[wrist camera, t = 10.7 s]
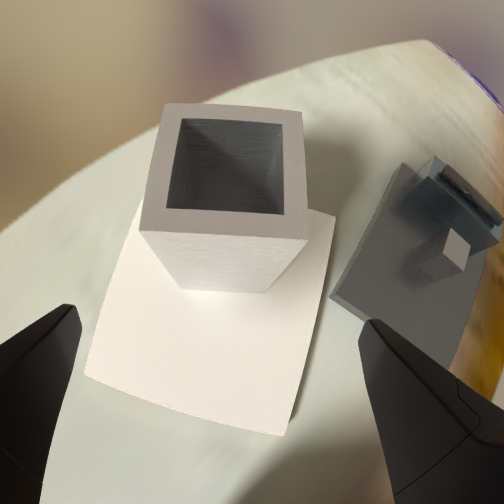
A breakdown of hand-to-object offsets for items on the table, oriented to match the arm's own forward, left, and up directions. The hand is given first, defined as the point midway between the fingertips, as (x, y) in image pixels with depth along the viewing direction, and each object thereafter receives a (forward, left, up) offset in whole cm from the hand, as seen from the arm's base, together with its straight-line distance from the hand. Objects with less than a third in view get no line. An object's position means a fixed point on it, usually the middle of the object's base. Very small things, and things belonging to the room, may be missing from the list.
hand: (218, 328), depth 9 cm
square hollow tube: (+5, +1, -11) cm, 12 cm away
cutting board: (+2, +1, -12) cm, 13 cm away
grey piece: (+9, -15, -12) cm, 21 cm away
